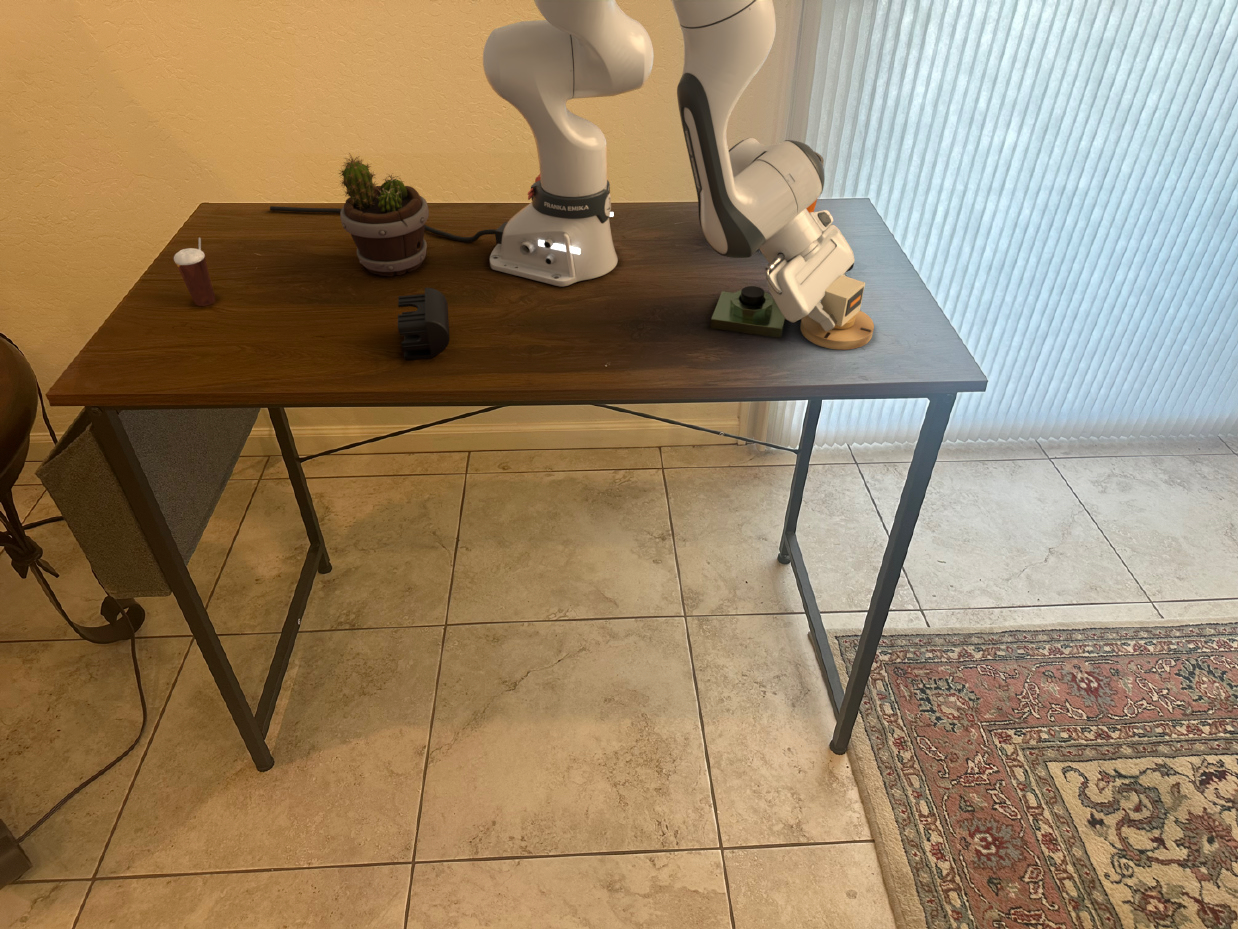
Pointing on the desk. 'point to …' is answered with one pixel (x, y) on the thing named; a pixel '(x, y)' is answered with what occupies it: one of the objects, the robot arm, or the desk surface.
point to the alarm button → (752, 296)
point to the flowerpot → (383, 221)
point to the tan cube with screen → (843, 300)
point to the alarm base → (748, 316)
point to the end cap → (424, 324)
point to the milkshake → (195, 275)
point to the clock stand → (839, 333)
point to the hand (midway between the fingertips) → (841, 316)
